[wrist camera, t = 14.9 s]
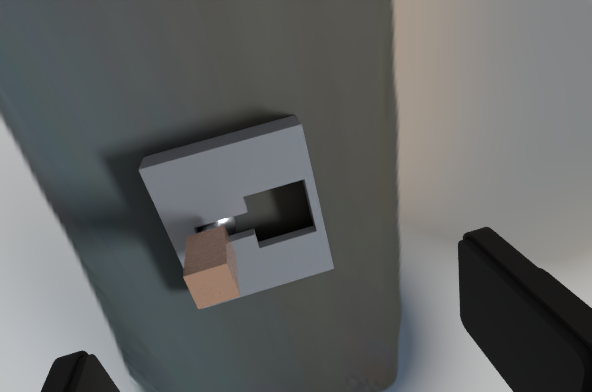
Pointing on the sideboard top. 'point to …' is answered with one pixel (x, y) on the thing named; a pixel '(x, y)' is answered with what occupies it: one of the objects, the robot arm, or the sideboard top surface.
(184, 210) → the keyhole board
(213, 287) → the keyhole peg
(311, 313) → the sideboard top surface
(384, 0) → the sideboard top surface
